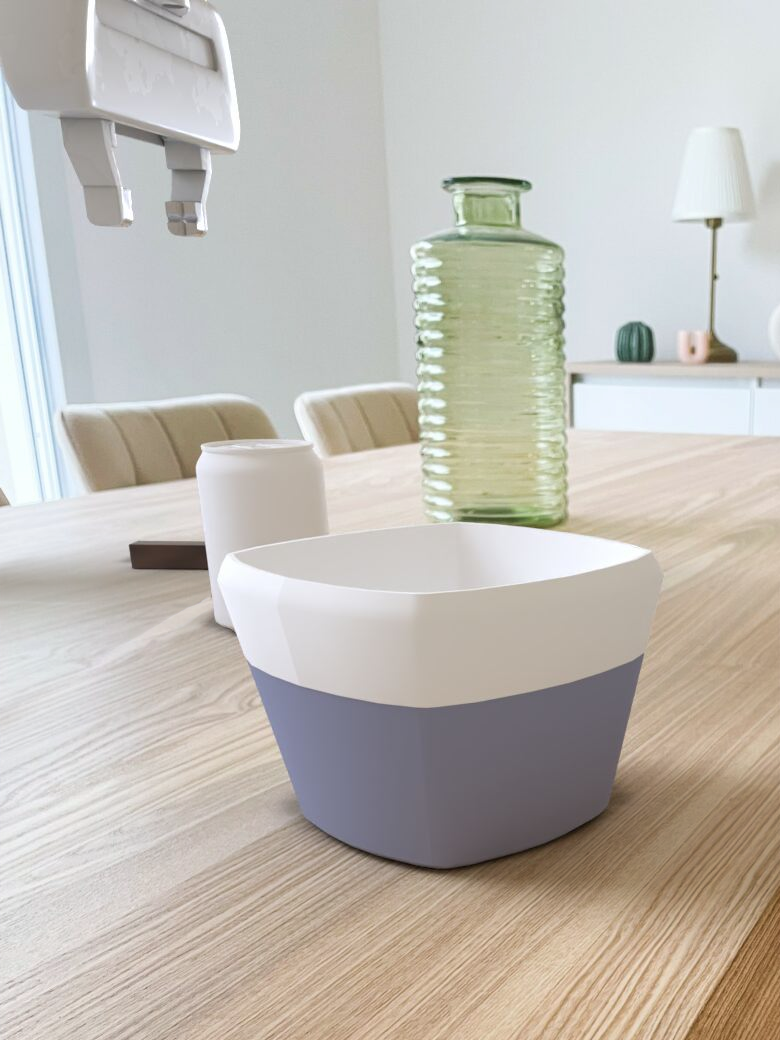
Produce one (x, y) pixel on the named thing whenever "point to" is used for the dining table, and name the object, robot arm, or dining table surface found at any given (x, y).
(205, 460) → the beverage can
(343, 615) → the bowl
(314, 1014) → the dining table surface
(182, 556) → the walnut stick
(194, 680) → the dining table surface
